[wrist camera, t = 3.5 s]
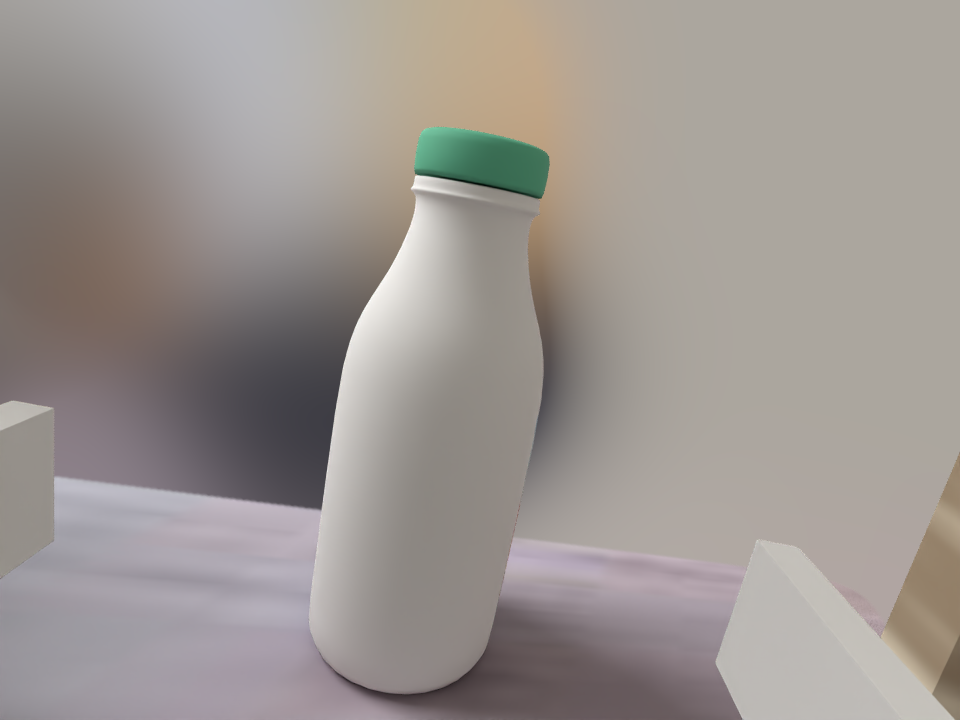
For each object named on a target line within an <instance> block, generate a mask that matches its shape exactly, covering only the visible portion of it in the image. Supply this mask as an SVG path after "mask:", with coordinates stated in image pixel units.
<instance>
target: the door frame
mask: <svg viewBox="0 0 960 720" xmlns="http://www.w3.org/2000/svg"><path fill="white" fill-rule="evenodd" d="M881 639H882V640H883V641H884V642H885V643H886V644H887V645H888V647H889V648H890V649H891V650H892V651H893V652H894V653H895V654H896V655H897V657H898V658H899V659H900V660H901V661H902V662H903V663H904V664H905V665H906V666H907V668H908V669H909V670H910V671H911V672H912V673H913V674H914V675H915V676H916V677H917V679H918V680H919V681H920V682H921V683H922V684H923V685H924V686H925V687H926V688H927V690H928V691H929V692H930V693H931V694H932V695H933V696H934V697H935V698H936V699H937V701H938V702H939V703H940V704H941V705H942V706H943V707H944V708H945V709H946V710H947V712H948V713H949V714H950V715H951V716H952V717H953V718H954V719H955V720H960V453H959V456H958V458H957V460H956V463H955V465H954V467H953V470H952V472H951V474H950V477H949V479H948V481H947V484H946V486H945V489H944V491H943V493H942V496H941V498H940V500H939V503H938V505H937V507H936V509H935V512H934V514H933V517H932V519H931V521H930V523H929V526H928V528H927V530H926V533H925V535H924V538H923V540H922V542H921V544H920V547H919V549H918V552H917V554H916V556H915V559H914V561H913V563H912V566H911V568H910V570H909V573H908V575H907V577H906V580H905V582H904V584H903V587H902V589H901V591H900V594H899V596H898V598H897V601H896V603H895V605H894V608H893V610H892V612H891V615H890V617H889V619H888V622H887V624H886V626H885V629H884V631H883V633H882V636H881Z"/></svg>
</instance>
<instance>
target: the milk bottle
mask: <svg viewBox="0 0 960 720" xmlns="http://www.w3.org/2000/svg"><path fill="white" fill-rule="evenodd" d="M549 165H550V164H549V156H548V154H547V153H546V152H545V151H543V150H541V149H539V148H537V147H535V146H532V145H530V144H527V143H523V142H520V141H517V140H514V139H510V138H506V137H502V136H497V135H493V134H488V133H482V132H478V131H472V130H465V129H457V128H447V127H434V128H427V129H425V130H423V131H422V133H421V135H420V137H419V141H418V146H417V151H416V158H415V167H414V169H415V174H417V175H420V176H416V177H415V180H414V185H413V187H411V190H412V191H413V192H414V194H415V195H416V206H415V212H414V216H413V220H412V223H411V226H410V228H409V231H408V233H407V235H406V238H405V240H404V242H403V245H402V247H401V249H400V251H399V253H398V255H397V257H396V259H395V261H394V262H393V264H392V266H391V268H390V270H389V271H388V273H387V274H386V276H385V277H384V279H383V280H382V282H381V284H380V285H379V287H378V288H377V290H376V291H375V293H374V294H373V296H372V297H371V299H370V301H369V302H368V304H367V306H366V307H365V309H364V311H363V313H362V314H361V317H360V319H359V321H358V323H357V325H356V327H355V330H354V333H353V335H352V338H351V340H350V344H349V348H348V351H347V355H346V359H345V362H344V366H343V372H342V377H341V383H340V389H339V395H338V400H337V406H336V412H335V419H334V426H333V433H332V440H331V447H330V454H329V461H328V469H327V475H326V482H325V490H324V497H323V505H322V512H321V520H320V528H319V535H318V543H317V550H316V558H315V566H314V574H313V581H312V589H311V598H310V610H309V627H310V631H311V635H312V637H313V640H314V642H315V645H316V647H317V649H318V650H319V652H320V653H321V655H322V657H323V658H324V660H325V661H326V662H327V663H328V664H329V665H330V666H331V667H332V668H333V669H334V670H335V671H336V672H337V673H339V674H341V675H342V676H344V677H345V678H347V679H348V680H350V681H351V682H354V683H356V684H359V685H361V686H363V687H366V688H368V689H372V690H377V691H381V692H385V693H395V694H414V693H426V692H429V691H432V690H436V689H440V688H443V687H445V686H447V685H449V684H451V683H453V682H455V681H457V680H459V679H460V678H461V677H462V676H463V675H465V674H466V673H467V672H469V671H470V670H471V668H472V667H473V666H474V665H475V664H476V663H477V661H478V660H479V659H480V658H481V656H482V655H483V653H484V651H485V649H486V647H487V644H488V640H489V637H490V633H491V629H492V626H493V622H494V617H495V613H496V609H497V604H498V600H499V596H500V591H501V587H502V583H503V578H504V574H505V569H506V565H507V560H508V556H509V552H510V547H511V543H512V538H513V533H514V529H515V525H516V520H517V516H518V511H519V507H520V502H521V497H522V493H523V488H524V483H525V479H526V474H527V469H528V465H529V460H530V456H531V451H532V447H533V442H534V436H535V431H536V425H537V419H538V414H539V408H540V403H541V395H542V384H543V352H542V342H541V337H540V332H539V326H538V322H537V318H536V313H535V308H534V304H533V299H532V293H531V287H530V280H529V268H528V236H529V229H530V225H531V222H532V220H533V218H534V217H535V216H538V215H539V214H540V212H539V205H540V200H538V199H540V198H542V196H543V194H544V190H545V186H546V182H547V178H548V171H549ZM536 198H538V199H536Z"/></svg>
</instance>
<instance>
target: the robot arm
mask: <svg viewBox="0 0 960 720" xmlns="http://www.w3.org/2000/svg"><path fill="white" fill-rule="evenodd" d="M53 541H54V408H50V407H45V406H39V405H34V404H29V403H23V402H17V401H10V402H7V403H4V404H2V405H0V579H1V578H2V577H3V576H5V575H6V574H8V573H9V572H10V571H12V570H13V569H15V568H16V567H17V566H19V565H20V564H22V563H23V562H24V561H26V560H27V559H29V558H30V557H32V556H33V555H34V554H36V553H37V552H39V551H40V550H41V549H43V548H44V547H46V546H47V545H48V544H50V543H51V542H53ZM715 663H716V665H717V667H718V669H719V672H720V674H721V676H722V678H723V680H724V682H725V684H726V686H727V688H728V690H729V692H730V694H731V696H732V698H733V701H734V703H735V705H736V707H737V709H738V711H739V713H740V715H741V717H742V719H743V720H955V719H954V718H953V717H952V716H951V715H950V714H949V713H948V712H947V710H946V709H945V708H944V707H943V706H942V705H941V704H940V703H939V702H938V701H937V699H936V698H935V697H934V696H933V695H932V694H931V693H930V692H929V691H928V690H927V688H926V687H925V686H924V685H923V684H922V683H921V682H920V681H919V680H918V679H917V677H916V676H915V675H914V674H913V673H912V672H911V671H910V670H909V669H908V668H907V666H906V665H905V664H904V663H903V662H902V661H901V660H900V659H899V658H898V657H897V655H896V654H895V653H894V652H893V651H892V650H891V649H890V648H889V647H888V645H887V644H886V643H885V642H884V641H883V640H882V639H881V638H880V637H879V636H878V634H877V633H876V632H875V631H874V630H873V629H872V628H871V627H870V626H869V625H868V623H867V622H866V621H865V620H864V619H863V618H862V617H861V616H860V615H859V614H858V612H857V611H856V610H855V609H854V608H853V607H852V606H851V605H850V604H849V603H848V601H847V600H846V599H845V598H844V597H843V596H842V595H841V594H840V593H839V592H838V590H837V589H836V588H835V587H834V586H833V585H832V584H831V583H830V582H829V581H828V579H827V578H826V577H825V576H824V575H823V574H822V573H821V572H820V571H819V570H818V568H817V567H816V566H815V565H814V564H813V563H812V562H811V561H810V560H809V559H808V557H807V556H806V555H804V553H803V552H802V551H801V550H800V549H799V548H798V547H796V546H791V545H785V544H780V543H774V542H769V541H764V540H758V539H757V541H756V544H755V547H754V550H753V553H752V556H751V559H750V562H749V565H748V568H747V571H746V574H745V577H744V579H743V582H742V585H741V588H740V591H739V594H738V597H737V600H736V603H735V606H734V609H733V612H732V615H731V618H730V621H729V624H728V627H727V630H726V632H725V635H724V638H723V641H722V644H721V647H720V650H719V653H718V656H717V659H716V662H715Z"/></svg>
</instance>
